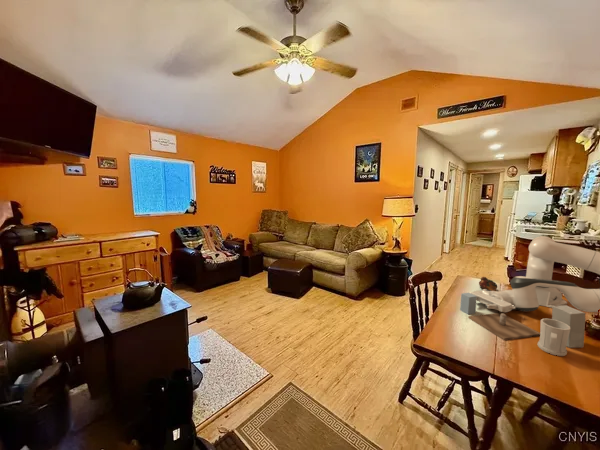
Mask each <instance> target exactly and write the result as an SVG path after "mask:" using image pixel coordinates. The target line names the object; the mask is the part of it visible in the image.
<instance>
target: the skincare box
mask: <svg viewBox="0 0 600 450" xmlns="http://www.w3.org/2000/svg"><path fill="white" fill-rule="evenodd" d="M551 316H552V317H551V319H553V320H557V321H560V322H563V323H565V324H567V325H568V326H570V328H571V329H570V332H569V336H568V340H567V345H566V348H571V349H572V348H573V349H574V348H584V345H585V344H584V343H585V328H586V327H585V326H586V313H585V311H582V310H579V309H577V308H575V307H574V308H573V306H568V305H567V304H565V305H561V306H553V308H552V312H551Z"/></svg>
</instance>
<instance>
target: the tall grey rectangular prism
mask: <svg viewBox="0 0 600 450" xmlns="http://www.w3.org/2000/svg"><path fill="white" fill-rule="evenodd" d="M460 295H461V296H460V307H459V310H460V311H461V312H463V313H464V314H466V315H472V314H476V308H477V300H476V299H477V296H475V295H473V294H471V292H463V293H461V294H460Z"/></svg>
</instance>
